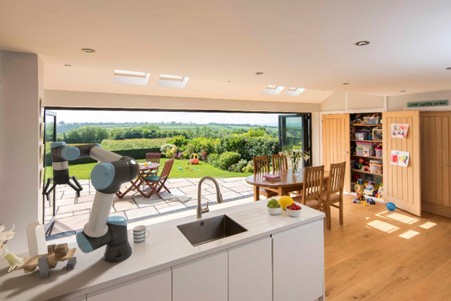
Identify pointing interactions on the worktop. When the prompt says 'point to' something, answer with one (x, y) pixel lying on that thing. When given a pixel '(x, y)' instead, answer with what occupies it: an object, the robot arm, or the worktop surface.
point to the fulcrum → (44, 265)
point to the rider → (61, 250)
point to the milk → (36, 239)
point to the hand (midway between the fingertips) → (64, 204)
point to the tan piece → (32, 261)
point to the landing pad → (71, 263)
